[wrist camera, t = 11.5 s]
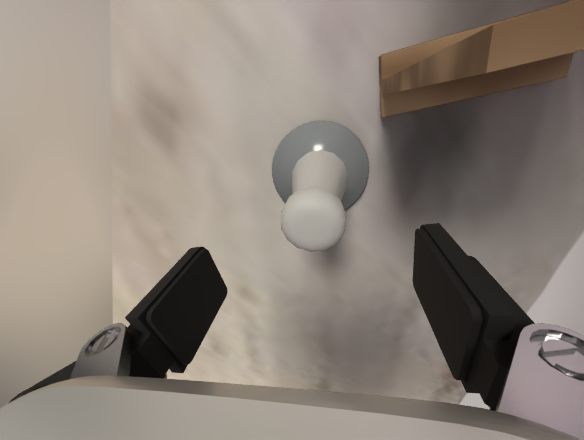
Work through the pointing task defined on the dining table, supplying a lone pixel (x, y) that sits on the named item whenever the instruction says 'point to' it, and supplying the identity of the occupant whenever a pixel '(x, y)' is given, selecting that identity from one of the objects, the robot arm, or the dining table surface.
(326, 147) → the coaster
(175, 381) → the robot arm
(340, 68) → the dining table surface
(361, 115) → the dining table surface
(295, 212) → the salt shaker
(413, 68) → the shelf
